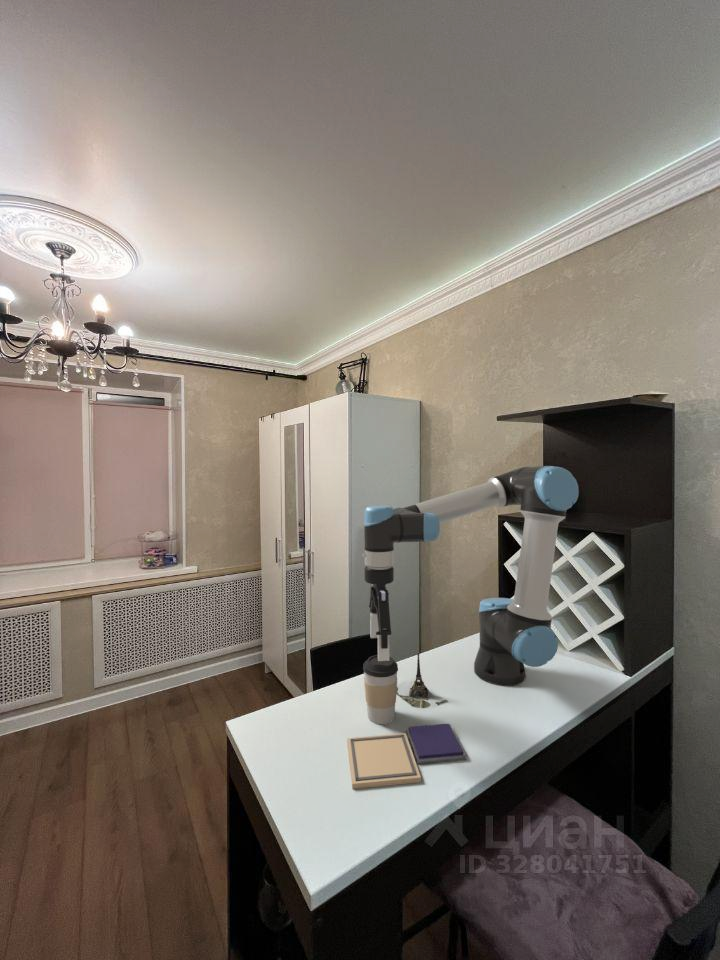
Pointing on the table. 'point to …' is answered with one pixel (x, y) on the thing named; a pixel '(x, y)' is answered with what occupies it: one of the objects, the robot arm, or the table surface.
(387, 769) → the square wooden board
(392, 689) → the coffee cup
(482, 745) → the table surface
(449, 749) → the ink pad
